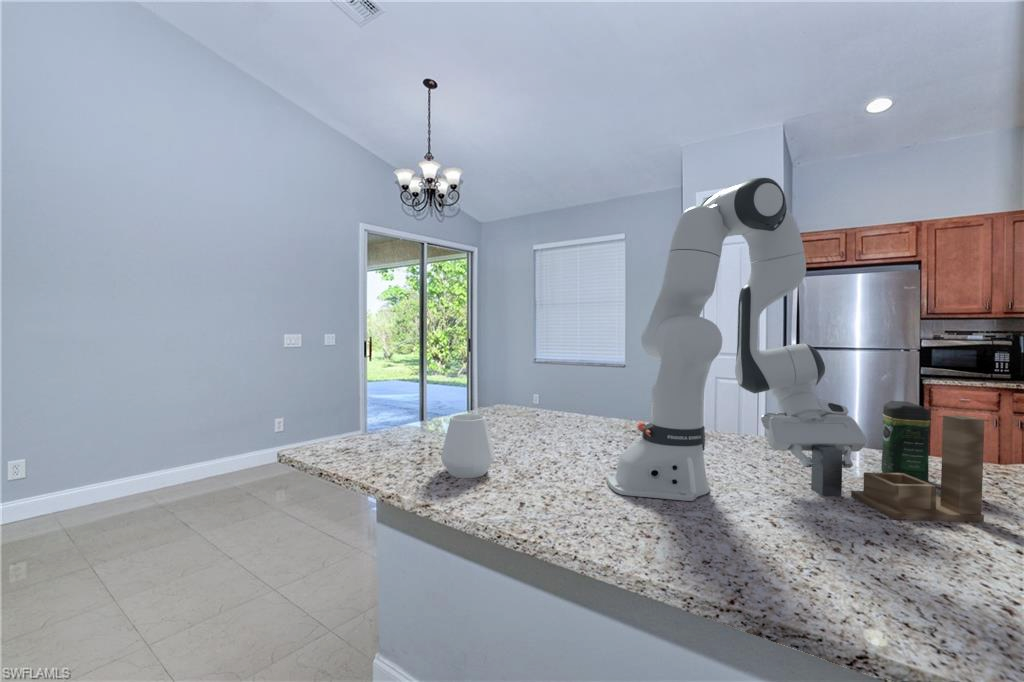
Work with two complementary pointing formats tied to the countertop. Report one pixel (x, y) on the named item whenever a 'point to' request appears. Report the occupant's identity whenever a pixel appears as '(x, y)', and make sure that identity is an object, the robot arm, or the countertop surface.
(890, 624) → the countertop surface
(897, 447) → the coffee jar
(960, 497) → the wooden peg slot stand
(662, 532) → the countertop surface
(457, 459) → the cup
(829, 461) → the dark grey square peg
